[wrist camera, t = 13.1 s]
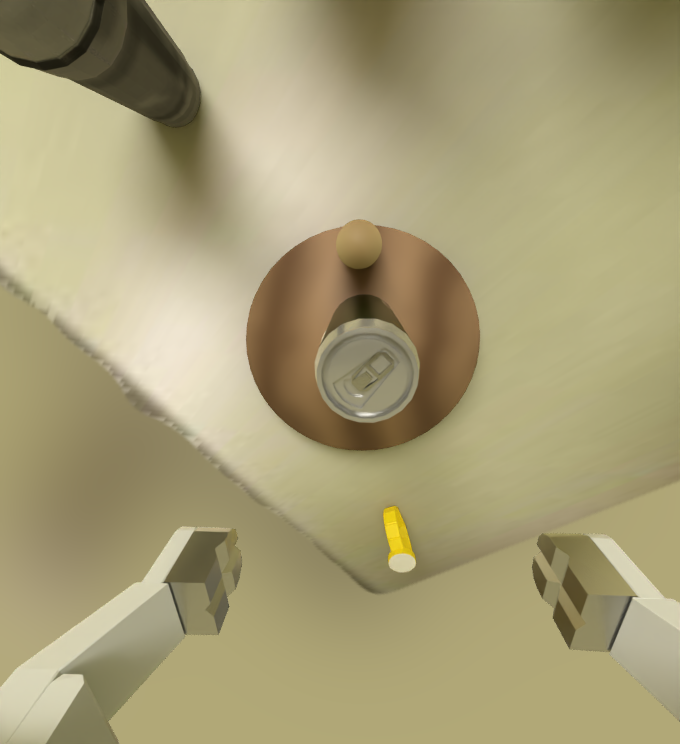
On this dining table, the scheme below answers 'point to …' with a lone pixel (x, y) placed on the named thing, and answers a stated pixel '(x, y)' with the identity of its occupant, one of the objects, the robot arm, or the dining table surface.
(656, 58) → the dining table surface
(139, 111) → the beverage cup
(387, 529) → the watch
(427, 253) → the lazy susan
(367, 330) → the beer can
